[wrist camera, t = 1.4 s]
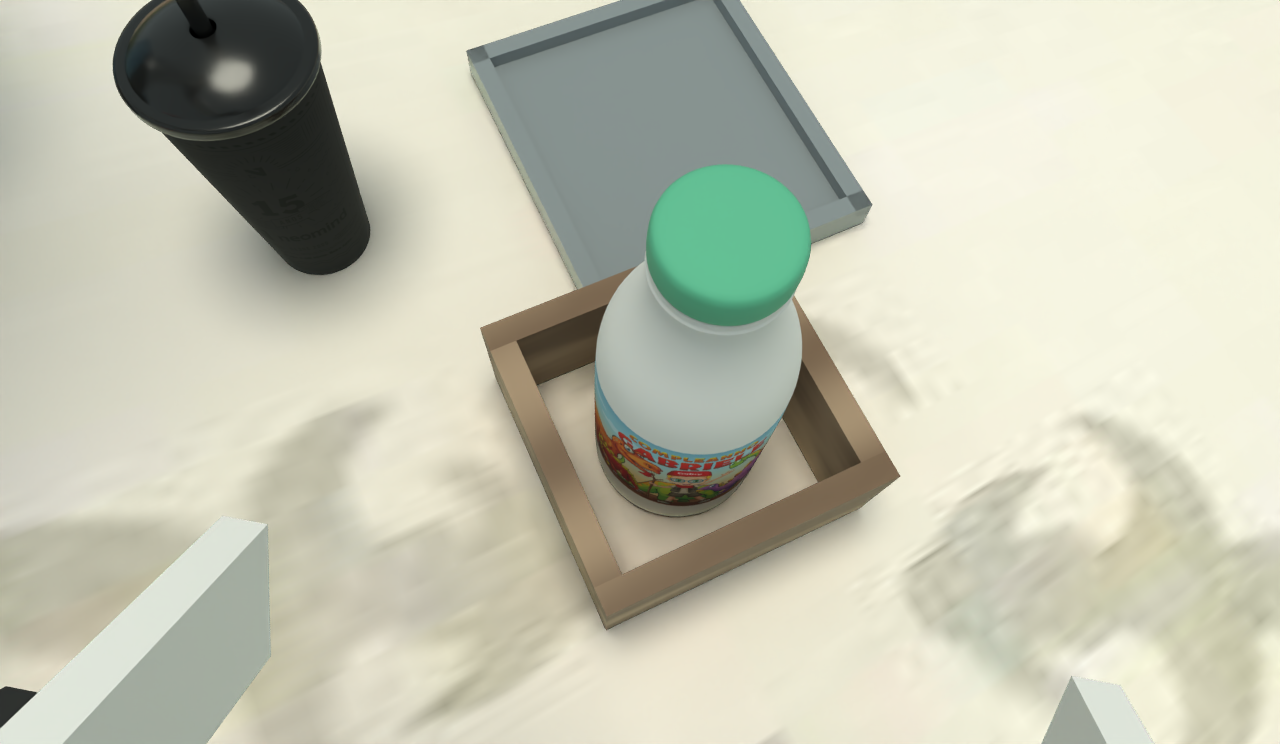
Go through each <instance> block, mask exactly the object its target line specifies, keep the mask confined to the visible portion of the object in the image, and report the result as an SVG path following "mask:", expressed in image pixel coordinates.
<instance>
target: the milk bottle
mask: <svg viewBox="0 0 1280 744" xmlns="http://www.w3.org/2000/svg"><path fill="white" fill-rule="evenodd" d="M810 251H811V235H810V227H809V223H808V219H807V216H806V214H805V212H804V210H803V208H802V206H801V204H800V203H799V201H798V200H797V198H796V197H795V196H794V195H793V193H792V192H791V191H790V190H789V189H788V188H787V187H785V186H784V185H783V184H782V183H780V182H779V181H778V180H776V179H775V178H773V177H771V176H770V175H768V174H766V173H763V172H761V171H758V170H756V169H753V168H749V167H745V166H740V165H729V164H722V165H712V166H706V167H702V168H699V169H696V170H693V171H691V172H689V173H687V174H685V175H683V176H682V177H680V178H679V179H677V180H676V181H675V182H673V183H672V184H671V185H670V186H669V187H668V188H667V189H666V190H665V191H664V193H663V194H662V195H661V197H660V198H659V200H658V201H657V203H656V205H655V207H654V209H653V211H652V214H651V216H650V221H649V225H648V230H647V238H646V252H645V261H644V262H642V263H641V264H640V265H639V266H637V267H636V268H635V269H634V270H633V271H632V272H631V273H630V274H629V275H628V276H627V277H626V278H625V279H624V281H623V282H622V283H621V284H620V286H619V287H618V288H617V290H616V292H615V293H614V295H613V297H612V298H611V300H610V302H609V304H608V306H607V308H606V310H605V313H604V316H603V319H602V322H601V325H600V329H599V333H598V338H597V346H596V357H595V435H596V445H597V452H598V456H599V460H600V463H601V466H602V468H603V470H604V472H605V474H606V476H607V478H608V479H609V481H610V482H611V484H612V485H613V486H614V487H615V489H616V490H617V491H618V492H619V493H620V494H621V495H622V496H624V497H625V498H626V499H627V500H629V501H630V502H632V503H633V504H635V505H636V506H638V507H640V508H642V509H644V510H647V511H649V512H653V513H656V514H660V515H666V516H688V515H694V514H698V513H701V512H704V511H707V510H709V509H712V508H713V507H715V506H717V505H719V504H720V503H722V502H723V501H725V500H726V499H727V498H728V497H730V496H731V495H732V494H733V493H734V492H735V490H736V489H737V488H738V487H739V486H740V484H741V483H742V482H743V480H744V479H745V477H746V476H747V474H748V473H749V471H750V470H751V468H752V466H753V465H754V463H755V462H756V460H757V458H758V457H759V455H760V453H761V452H762V450H763V448H764V447H765V445H766V444H767V442H768V440H769V438H770V437H771V435H772V433H773V432H774V430H775V428H776V426H777V425H778V423H779V421H780V419H781V418H782V416H783V414H784V412H785V410H786V407H787V405H788V403H789V401H790V399H791V397H792V395H793V392H794V390H795V387H796V384H797V380H798V376H799V371H800V367H801V360H802V334H801V328H800V323H799V318H798V315H797V311H796V308H795V306H794V303H793V301H792V298H793V296H794V294H795V291H796V288H797V287H798V285H799V283H800V281H801V279H802V277H803V275H804V272H805V270H806V267H807V264H808V261H809V257H810Z"/></svg>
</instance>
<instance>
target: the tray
mask: <svg viewBox="0 0 1280 744" xmlns="http://www.w3.org/2000/svg"><path fill="white" fill-rule="evenodd" d="M467 56H468V61H469V66H470V71H471V74H472V76H473V78H474V80H475V82H476V84H477V86H478V88H479V90H480V92H481V94H482V96H483V98H484V101H485V103H486V105H487V107H488V109H489V111H490V113H491V115H492V117H493V119H494V121H495V123H496V125H497V127H498V129H499V131H500V133H501V135H502V137H503V139H504V141H505V143H506V145H507V147H508V149H509V151H510V154H511V156H512V158H513V160H514V162H515V164H516V166H517V168H518V170H519V172H520V174H521V176H522V178H523V180H524V182H525V184H526V186H527V188H528V190H529V192H530V194H531V196H532V198H533V200H534V202H535V204H536V207H537V209H538V211H539V213H540V215H541V217H542V219H543V221H544V223H545V225H546V227H547V229H548V231H549V233H550V235H551V237H552V239H553V241H554V243H555V245H556V247H557V249H558V251H559V253H560V255H561V257H562V260H563V262H564V264H565V266H566V268H567V270H568V272H569V274H570V276H571V278H572V280H573V282H574V284H575V286H576V288H577V290H578V289H580V288H583V287H585V286H588V285H590V284H593V283H595V282H598V281H600V280H603V279H606V278H608V277H611V276H613V275H616V274H618V273H621V272H623V271H626V270H628V269H631V268H633V267H636V266H638V265H640V264H641V263H642V262H644V261H645V252H646V238H647V230H648V225H649V221H650V216H651V214H652V211H653V209H654V207H655V205H656V203H657V201H658V200H659V198H660V197H661V195H662V194H663V193H664V191H665V190H666V189H667V188H668V187H669V186H670V185H671V184H672V183H673V182H675V181H676V180H677V179H679V178H680V177H682V176H683V175H685V174H687V173H689V172H691V171H693V170H696V169H699V168H702V167H706V166H712V165H722V164H729V165H740V166H745V167H749V168H753V169H756V170H758V171H761V172H763V173H766V174H768V175H770V176H771V177H773V178H775V179H776V180H778V181H779V182H780V183H782V184H783V185H784V186H785V187H787V188H788V189H789V190H790V191H791V192H792V193H793V195H794V196H795V197H796V198H797V200H798V201H799V203H800V204H801V206H802V208H803V210H804V212H805V214H806V216H807V219H808V223H809V227H810V235H811V244H812V243H814V242H817V241H819V240H821V239H824V238H826V237H829V236H831V235H834V234H836V233H839V232H841V231H844V230H846V229H849V228H851V227H853V226H856V225H858V224H861V223H863V221H864V219H865V218H866V216H867V214H868V212H869V210H870V208H871V206H872V203H871V202H870V200H869V199H868V197H867V196H866V194H865V193H864V191H863V190H862V188H861V186H860V185H859V183H858V182H857V180H856V179H855V177H854V176H853V174H852V173H851V171H850V170H849V168H848V166H847V165H846V163H845V162H844V160H843V159H842V157H841V156H840V154H839V153H838V151H837V150H836V148H835V146H834V145H833V143H832V142H831V140H830V139H829V137H828V136H827V134H826V133H825V131H824V130H823V128H822V126H821V125H820V123H819V122H818V120H817V119H816V117H815V116H814V114H813V113H812V111H811V110H810V108H809V106H808V105H807V103H806V102H805V100H804V99H803V97H802V96H801V94H800V93H799V91H798V89H797V88H796V86H795V85H794V83H793V82H792V80H791V79H790V77H789V76H788V74H787V73H786V71H785V69H784V68H783V66H782V65H781V63H780V62H779V60H778V59H777V57H776V56H775V54H774V53H773V51H772V49H771V48H770V46H769V45H768V43H767V42H766V40H765V39H764V37H763V36H762V34H761V33H760V31H759V29H758V28H757V26H756V25H755V23H754V22H753V20H752V19H751V17H750V16H749V14H748V13H747V11H746V9H745V8H744V6H743V5H742V3H741V2H740V0H620V1H617V2H614V3H611V4H608V5H605V6H602V7H599V8H596V9H593V10H590V11H586V12H583V13H580V14H577V15H574V16H571V17H568V18H565V19H562V20H559V21H556V22H553V23H550V24H547V25H544V26H541V27H538V28H534V29H531V30H528V31H525V32H522V33H519V34H516V35H513V36H510V37H507V38H504V39H501V40H498V41H495V42H492V43H489V44H485V45H482V46H479V47H476V48H473V49H470V50H467Z"/></svg>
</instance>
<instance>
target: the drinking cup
mask: <svg viewBox="0 0 1280 744" xmlns="http://www.w3.org/2000/svg"><path fill="white" fill-rule="evenodd" d="M320 61H321V41H320V37H319V33H318V30H317V28H316V25H315V23H314V21H313V19H312V17H311V15H310V14H309V12H308V11H307V9H306V8H305V7H304V6H303V5H302V4H301V3H300V2H299V1H298V0H151V1H150V2H149V3H148V4H146V5H145V6H144V7H143V8H142V9H140V10H139V11H138V12H137V13H136V14H135V15H134V16H133V17H132V19H131V20H130V21H129V22H128V24H127V25H126V27H125V28H124V30H123V31H122V33H121V35H120V37H119V39H118V42H117V44H116V47H115V51H114V56H113V75H114V80H115V84H116V87H117V89H118V92H119V94H120V96H121V97H122V99H123V100H124V102H125V103H126V105H127V106H128V107H129V108H130V110H131V111H132V112H133V113H134V114H135V115H136V116H137V117H138V118H139V119H140V120H142V121H143V122H144V123H146V124H147V125H149V126H151V127H152V128H154V129H156V130H158V131H160V132H162V133H163V134H164V135H165V136H166V137H167V138H168V139H169V140H170V141H171V143H172V144H173V145H174V146H175V147H176V148H177V149H178V150H179V151H180V152H181V153H182V154H183V155H184V156H185V157H186V158H187V159H188V160H189V161H190V162H191V163H192V164H193V165H194V166H195V167H196V169H197V170H198V171H199V172H200V173H201V174H202V175H203V176H204V177H205V178H206V179H207V180H208V181H209V182H210V183H211V184H212V185H213V186H214V187H215V188H216V189H217V190H218V191H219V192H220V193H221V194H222V196H223V197H224V198H225V199H226V200H227V201H228V202H229V203H230V204H231V205H232V206H233V207H234V208H235V209H236V210H237V211H238V212H239V213H240V214H241V215H242V216H243V217H244V218H245V219H246V220H247V221H248V223H249V224H250V225H251V226H252V227H253V228H254V229H255V230H256V231H257V232H258V233H259V234H260V235H261V236H262V237H263V238H264V239H265V240H266V241H267V242H268V243H269V244H270V245H271V246H272V247H273V249H274V250H275V251H276V252H277V253H278V254H279V255H280V256H281V257H282V258H283V259H284V260H285V261H286V262H287V263H288V264H289V265H291V266H292V267H293V268H295V269H297V270H299V271H302V272H305V273H309V274H329V273H333V272H337V271H339V270H342V269H344V268H346V267H347V266H349V265H351V264H352V263H353V262H354V261H356V260H357V259H358V258H359V257H360V255H361V254H362V253H363V251H364V250H365V248H366V246H367V243H368V240H369V236H370V225H369V221H368V218H367V214H366V211H365V208H364V204H363V201H362V198H361V195H360V191H359V188H358V185H357V181H356V178H355V175H354V171H353V168H352V165H351V161H350V158H349V155H348V151H347V148H346V145H345V142H344V138H343V135H342V132H341V128H340V125H339V122H338V118H337V115H336V112H335V108H334V105H333V102H332V99H331V95H330V92H329V89H328V85H327V82H326V79H325V75H324V72H323V69H322V65H321V62H320Z"/></svg>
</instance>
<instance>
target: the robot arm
mask: <svg viewBox="0 0 1280 744" xmlns="http://www.w3.org/2000/svg"><path fill="white" fill-rule="evenodd" d="M270 656H271V649H270V605H269V561H268V524H264V523H258V522H253V521H248V520H242V519H237V518H232V517H226V516H222V517H221V518H220V519H219V520H218V521H216V522H215V523H214V524H213V525H212V526H211V527H210V528H209V529H208V530H207V531H206V532H205V533H204V534H203V535H202V536H201V537H200V538H199V539H198V540H197V541H196V542H195V543H193V544H192V545H191V546H190V547H189V548H188V549H187V550H186V551H185V552H184V553H183V554H182V555H181V556H180V557H179V558H178V559H177V560H176V561H175V562H174V563H173V564H172V565H171V566H169V567H168V568H167V569H166V570H165V571H164V572H163V573H162V574H161V575H160V576H159V577H158V578H157V579H156V580H155V581H154V582H153V583H152V584H151V585H150V586H149V587H148V588H147V589H145V590H144V591H143V592H142V593H141V594H140V595H139V596H138V597H137V598H136V599H135V600H134V601H133V602H132V603H131V604H130V605H129V606H128V607H127V608H126V609H125V610H124V611H123V612H121V613H120V614H119V615H118V616H117V617H116V618H115V619H114V620H113V621H112V622H111V623H110V624H109V625H108V626H107V627H106V628H105V629H104V630H103V631H102V632H101V633H100V634H98V635H97V636H96V637H95V638H94V639H93V640H92V641H91V642H90V643H89V644H88V645H87V646H86V647H85V648H84V649H83V650H82V651H81V652H80V653H79V654H78V655H77V656H76V657H74V658H73V659H72V660H71V661H70V662H69V663H68V664H67V665H66V666H65V667H64V668H63V669H62V670H61V671H60V672H59V673H58V674H57V675H56V676H55V677H54V678H53V679H52V680H50V681H49V682H48V683H47V684H46V685H45V686H44V687H43V688H42V689H41V690H40V691H39V692H38V693H37V692H32V691H27V690H22V689H17V688H12V687H7V686H6V687H4V688H2V689H0V744H206V743H207V742H208V741H209V739H210V738H211V737H212V735H213V734H214V733H215V731H216V730H217V729H218V727H219V726H220V724H221V723H222V722H223V720H224V719H225V718H226V716H227V715H228V714H229V712H230V711H231V709H232V708H233V707H234V705H235V704H236V703H237V701H238V700H239V699H240V697H241V696H242V694H243V693H244V692H245V690H246V689H247V688H248V686H249V685H250V684H251V682H252V681H253V680H254V678H255V677H256V675H257V674H258V673H259V671H260V670H261V669H262V667H263V666H264V665H265V663H266V662H267V660H268V659H269V658H270ZM1042 744H1154V742H1153V740H1152V738H1151V737H1150V735H1149V733H1148V732H1147V730H1146V728H1145V726H1144V725H1143V723H1142V721H1141V720H1140V718H1139V716H1138V715H1137V713H1136V711H1135V709H1134V708H1133V706H1132V704H1131V703H1130V701H1129V699H1128V698H1127V696H1126V694H1125V692H1124V691H1123V689H1122V687H1121V686H1120V685H1117V684H1111V683H1106V682H1101V681H1096V680H1090V679H1085V678H1080V677H1074V676H1071V678H1070V681H1069V683H1068V685H1067V687H1066V690H1065V692H1064V694H1063V696H1062V699H1061V701H1060V703H1059V705H1058V708H1057V710H1056V712H1055V714H1054V717H1053V719H1052V721H1051V723H1050V726H1049V728H1048V730H1047V732H1046V735H1045V737H1044V739H1043V741H1042Z"/></svg>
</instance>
